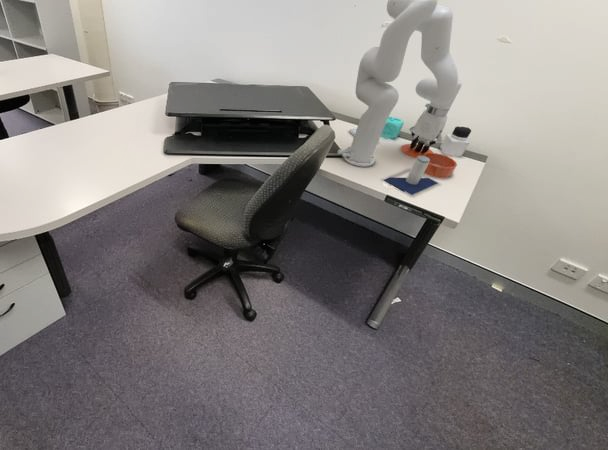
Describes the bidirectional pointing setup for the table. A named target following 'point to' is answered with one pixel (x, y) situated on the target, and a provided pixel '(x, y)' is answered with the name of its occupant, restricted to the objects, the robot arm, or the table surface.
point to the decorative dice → (392, 127)
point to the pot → (442, 161)
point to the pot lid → (414, 149)
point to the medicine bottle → (456, 141)
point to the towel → (408, 187)
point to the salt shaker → (417, 170)
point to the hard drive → (353, 131)
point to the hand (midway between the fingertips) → (417, 149)
